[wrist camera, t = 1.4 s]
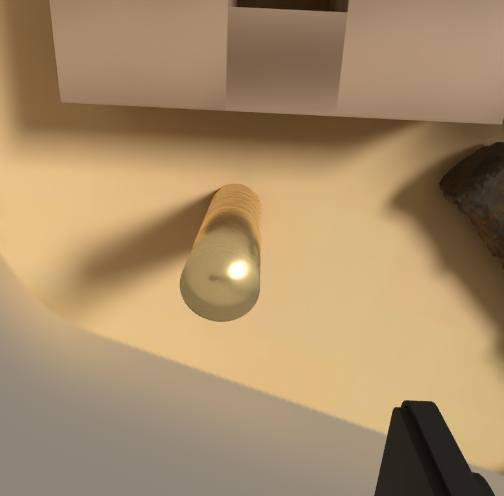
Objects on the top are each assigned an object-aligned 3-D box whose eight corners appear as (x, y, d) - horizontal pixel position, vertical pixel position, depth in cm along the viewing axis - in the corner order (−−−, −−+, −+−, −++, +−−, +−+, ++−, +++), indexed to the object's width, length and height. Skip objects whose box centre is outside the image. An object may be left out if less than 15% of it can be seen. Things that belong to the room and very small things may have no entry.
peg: (259, 234, 26) (257, 323, 17) (209, 231, 26) (180, 319, 17) (262, 185, 25) (262, 251, 16) (210, 182, 25) (179, 248, 16)
